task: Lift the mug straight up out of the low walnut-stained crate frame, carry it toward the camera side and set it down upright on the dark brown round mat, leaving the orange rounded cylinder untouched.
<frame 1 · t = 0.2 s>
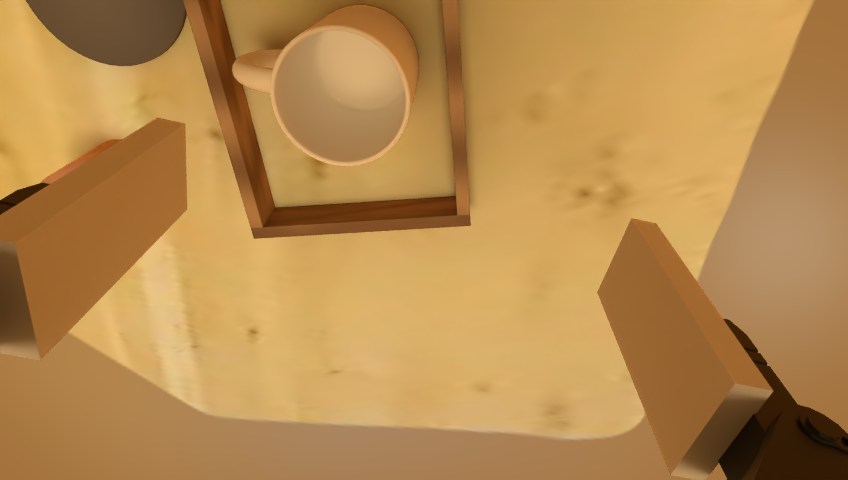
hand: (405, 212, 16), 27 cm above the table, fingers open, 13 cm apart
crate frame: (340, 59, 40), on the table
mug: (341, 58, 40), resting in crate frame
orange rounded cylinder: (129, 175, 45), on the table
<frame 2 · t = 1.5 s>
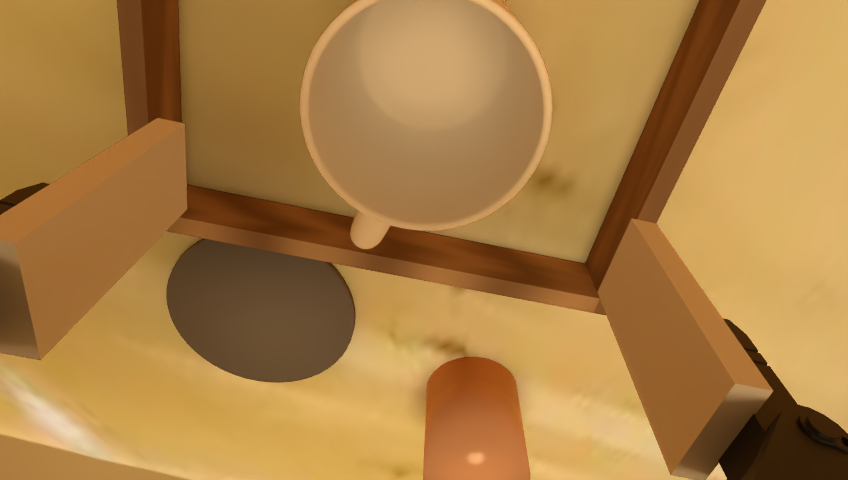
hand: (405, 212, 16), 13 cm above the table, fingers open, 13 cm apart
crate frame: (416, 91, 27), on the table
mug: (416, 90, 27), resting in crate frame
dark brown round mat: (263, 309, 34), on the table
orange rounded cylinder: (471, 390, 38), on the table
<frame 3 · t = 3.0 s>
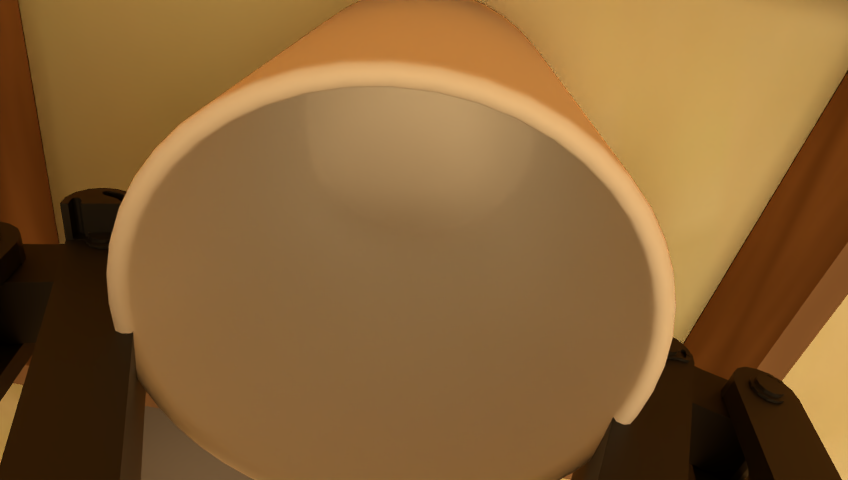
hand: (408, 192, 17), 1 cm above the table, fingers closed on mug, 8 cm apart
crate frame: (403, 178, 18), on the table
mug: (398, 175, 18), resting in crate frame, touching gripper
dark brown round mat: (198, 451, 25), on the table
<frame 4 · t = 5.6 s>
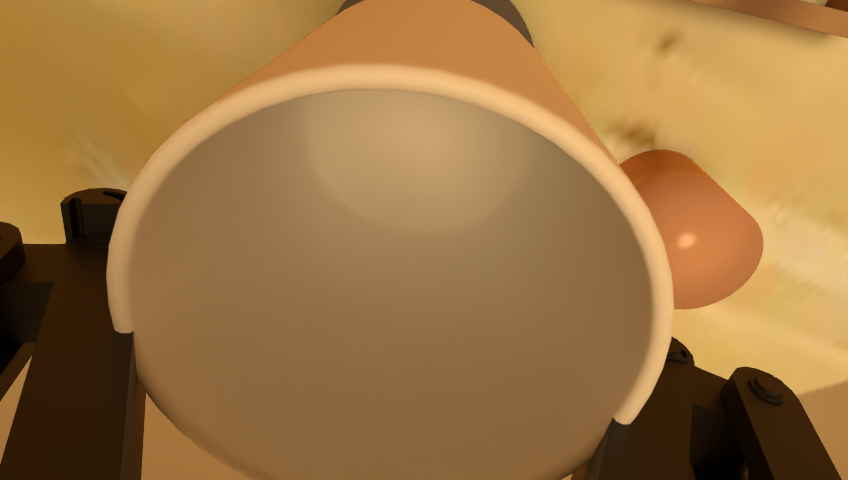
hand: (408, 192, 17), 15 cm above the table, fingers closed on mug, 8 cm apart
mug: (397, 175, 18), point 14 cm above the table, touching gripper
dark brown round mat: (428, 82, 30), on the table
orange rounded cylinder: (650, 198, 33), on the table
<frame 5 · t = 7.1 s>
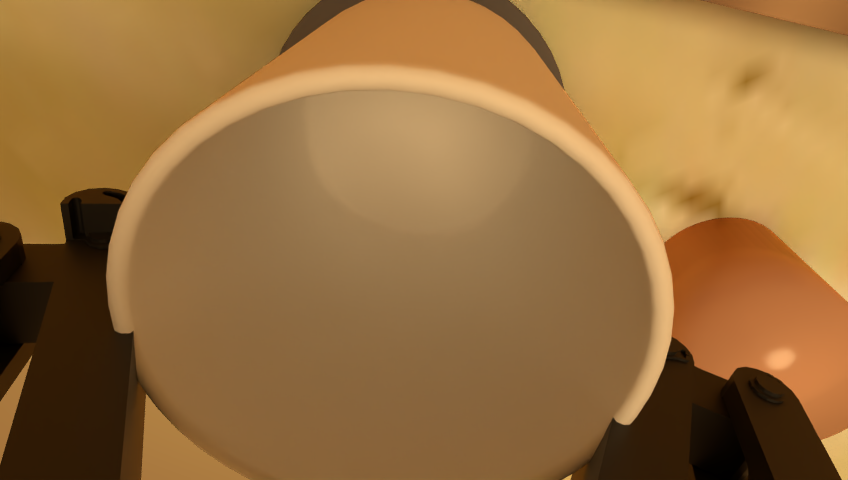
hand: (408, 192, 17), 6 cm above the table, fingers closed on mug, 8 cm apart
mug: (397, 176, 18), point 5 cm above the table, touching gripper
dark brown round mat: (416, 130, 22), on the table
orange rounded cylinder: (711, 277, 25), on the table
when the fingers open (3 cm above the table, at t = 8.1 s): mug drops 1 cm, resting on dark brown round mat.
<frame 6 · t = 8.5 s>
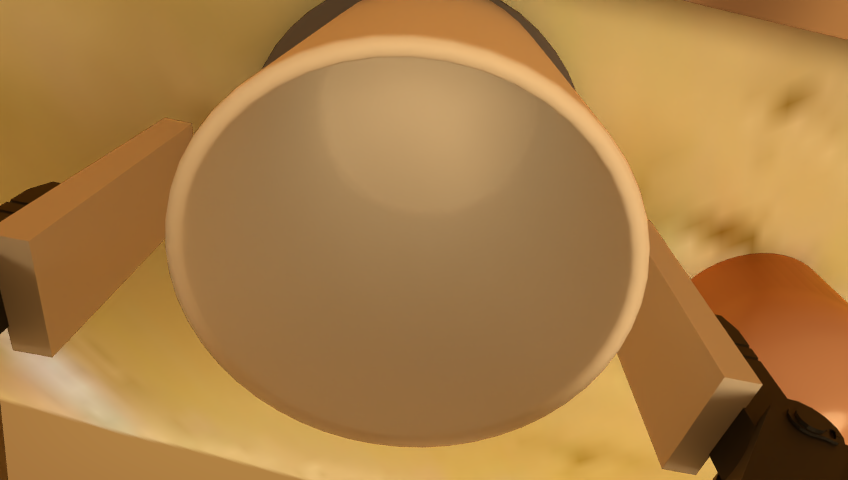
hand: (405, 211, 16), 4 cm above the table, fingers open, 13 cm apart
mug: (405, 158, 19), resting on dark brown round mat
dark brown round mat: (415, 157, 19), on the table
orange rounded cylinder: (742, 317, 22), on the table
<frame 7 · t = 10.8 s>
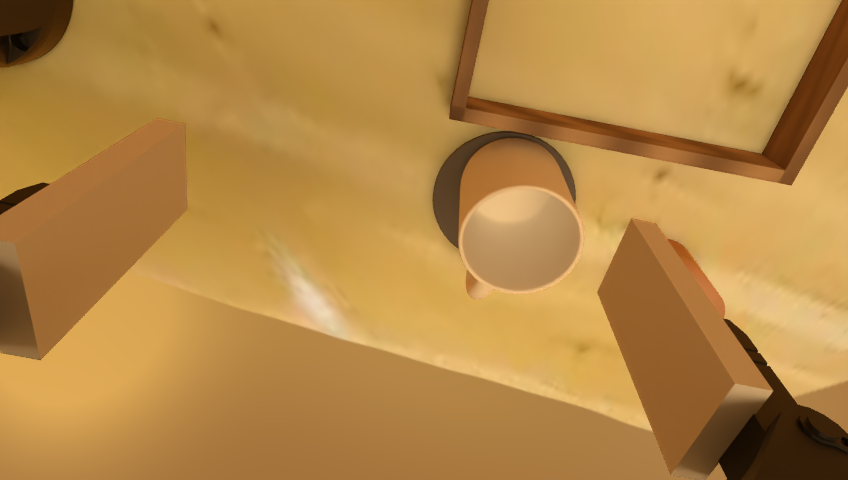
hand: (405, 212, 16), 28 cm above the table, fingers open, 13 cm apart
crate frame: (654, 17, 38), on the table
mug: (499, 199, 45), resting on dark brown round mat
dark brown round mat: (503, 199, 45), on the table
orange rounded cylinder: (654, 269, 48), on the table
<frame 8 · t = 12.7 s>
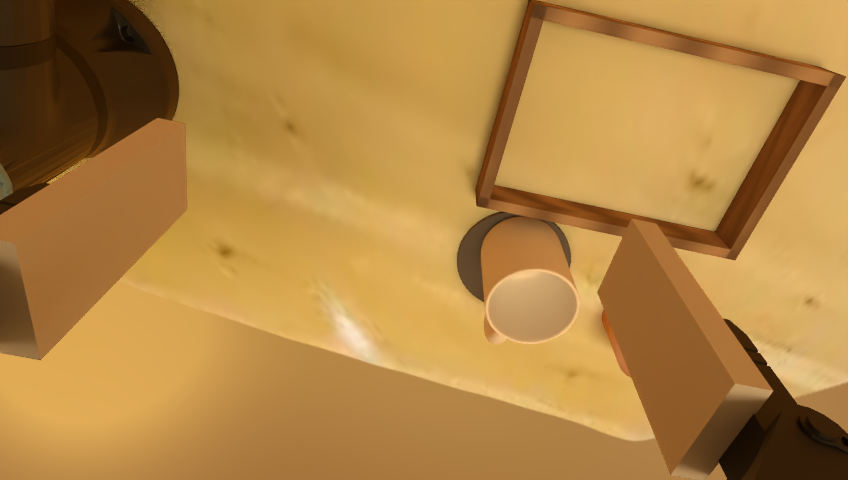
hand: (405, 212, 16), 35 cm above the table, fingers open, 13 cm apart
crate frame: (634, 133, 49), on the table
mug: (510, 260, 56), resting on dark brown round mat
dark brown round mat: (513, 259, 57), on the table
orange rounded cylinder: (630, 314, 60), on the table
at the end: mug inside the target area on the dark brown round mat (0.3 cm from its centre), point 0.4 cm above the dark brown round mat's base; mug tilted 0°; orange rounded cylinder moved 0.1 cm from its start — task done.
